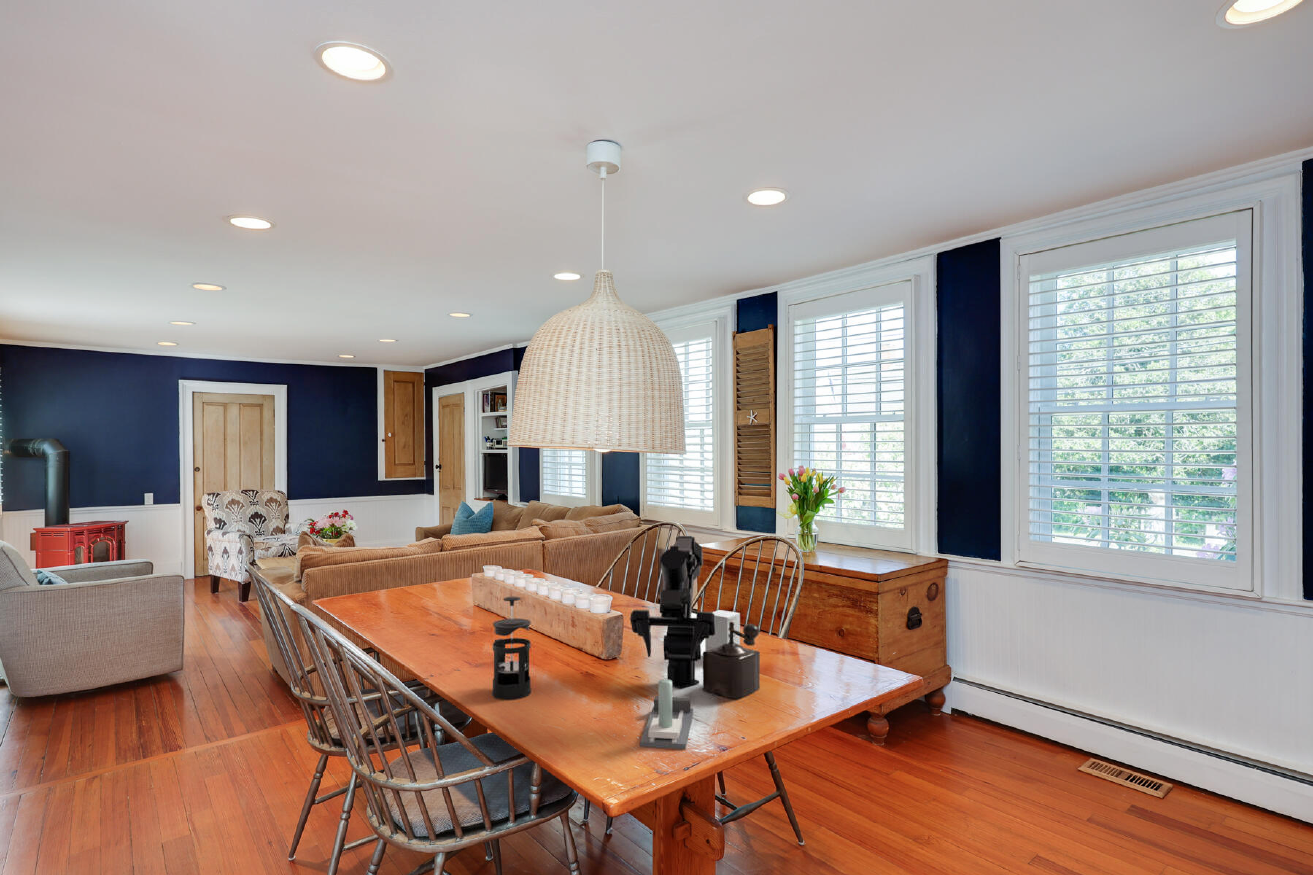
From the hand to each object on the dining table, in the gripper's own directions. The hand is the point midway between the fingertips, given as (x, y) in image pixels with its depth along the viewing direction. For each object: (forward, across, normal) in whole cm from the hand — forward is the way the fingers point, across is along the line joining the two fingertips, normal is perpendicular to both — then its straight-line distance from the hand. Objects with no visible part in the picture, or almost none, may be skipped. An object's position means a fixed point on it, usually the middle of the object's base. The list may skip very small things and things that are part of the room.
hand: (670, 656), depth 150 cm
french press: (0, -40, +20) cm, 45 cm away
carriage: (+15, 0, +3) cm, 15 cm away
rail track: (+12, 0, +8) cm, 14 cm away
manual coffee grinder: (-5, +14, +25) cm, 29 cm away
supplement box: (-25, +9, +44) cm, 51 cm away
